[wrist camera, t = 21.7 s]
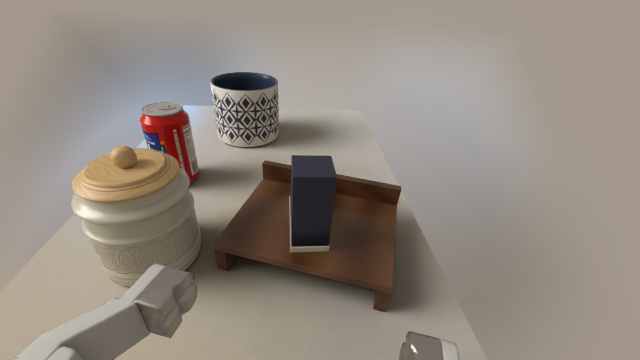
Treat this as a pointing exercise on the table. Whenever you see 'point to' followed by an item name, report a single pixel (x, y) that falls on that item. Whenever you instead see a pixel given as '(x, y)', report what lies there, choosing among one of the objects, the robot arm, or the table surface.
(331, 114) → the table surface
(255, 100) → the planter
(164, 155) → the jar
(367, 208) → the wooden display stand
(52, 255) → the table surface
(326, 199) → the navy stepped block
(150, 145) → the soda can
